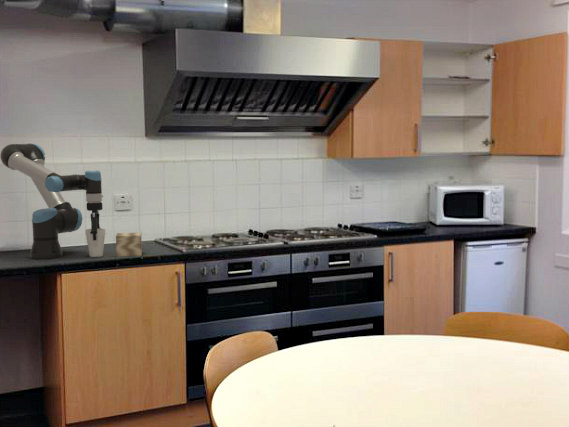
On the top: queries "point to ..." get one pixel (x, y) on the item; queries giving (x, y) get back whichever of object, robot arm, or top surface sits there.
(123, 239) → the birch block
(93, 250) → the foam cup
